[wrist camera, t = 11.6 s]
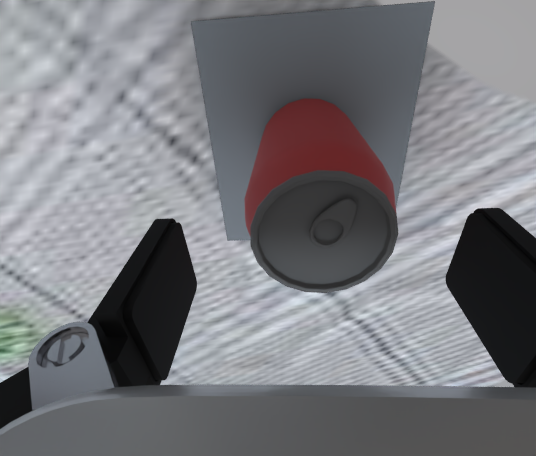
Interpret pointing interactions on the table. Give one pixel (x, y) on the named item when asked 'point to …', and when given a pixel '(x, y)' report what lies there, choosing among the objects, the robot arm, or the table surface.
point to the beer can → (319, 201)
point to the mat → (309, 82)
